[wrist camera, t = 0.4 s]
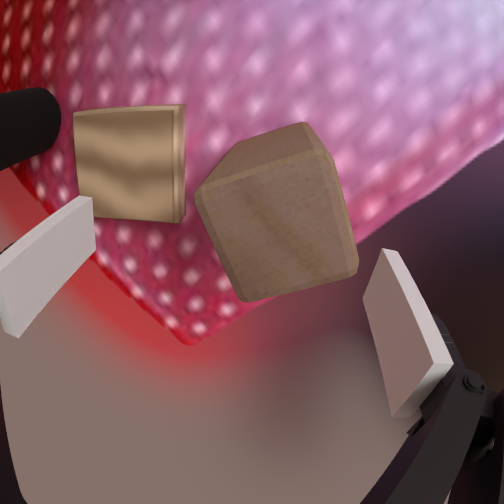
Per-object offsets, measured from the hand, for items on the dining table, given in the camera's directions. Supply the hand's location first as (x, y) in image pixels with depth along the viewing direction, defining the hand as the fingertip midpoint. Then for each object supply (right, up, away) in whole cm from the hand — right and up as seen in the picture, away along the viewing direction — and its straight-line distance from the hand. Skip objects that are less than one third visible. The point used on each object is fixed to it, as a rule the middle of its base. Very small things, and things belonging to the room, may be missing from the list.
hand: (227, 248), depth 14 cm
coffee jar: (-32, +20, +25) cm, 45 cm away
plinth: (-15, +12, +27) cm, 33 cm away
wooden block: (+5, +10, +26) cm, 28 cm away
